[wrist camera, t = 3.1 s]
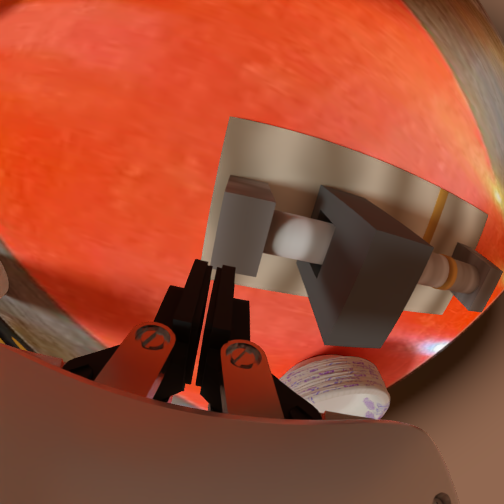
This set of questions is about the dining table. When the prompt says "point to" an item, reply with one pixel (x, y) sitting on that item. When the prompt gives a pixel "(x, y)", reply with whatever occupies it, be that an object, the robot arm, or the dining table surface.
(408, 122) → the dining table surface
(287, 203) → the pipe rig
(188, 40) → the dining table surface
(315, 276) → the collar
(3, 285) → the cylindrical container
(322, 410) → the paper bowls
